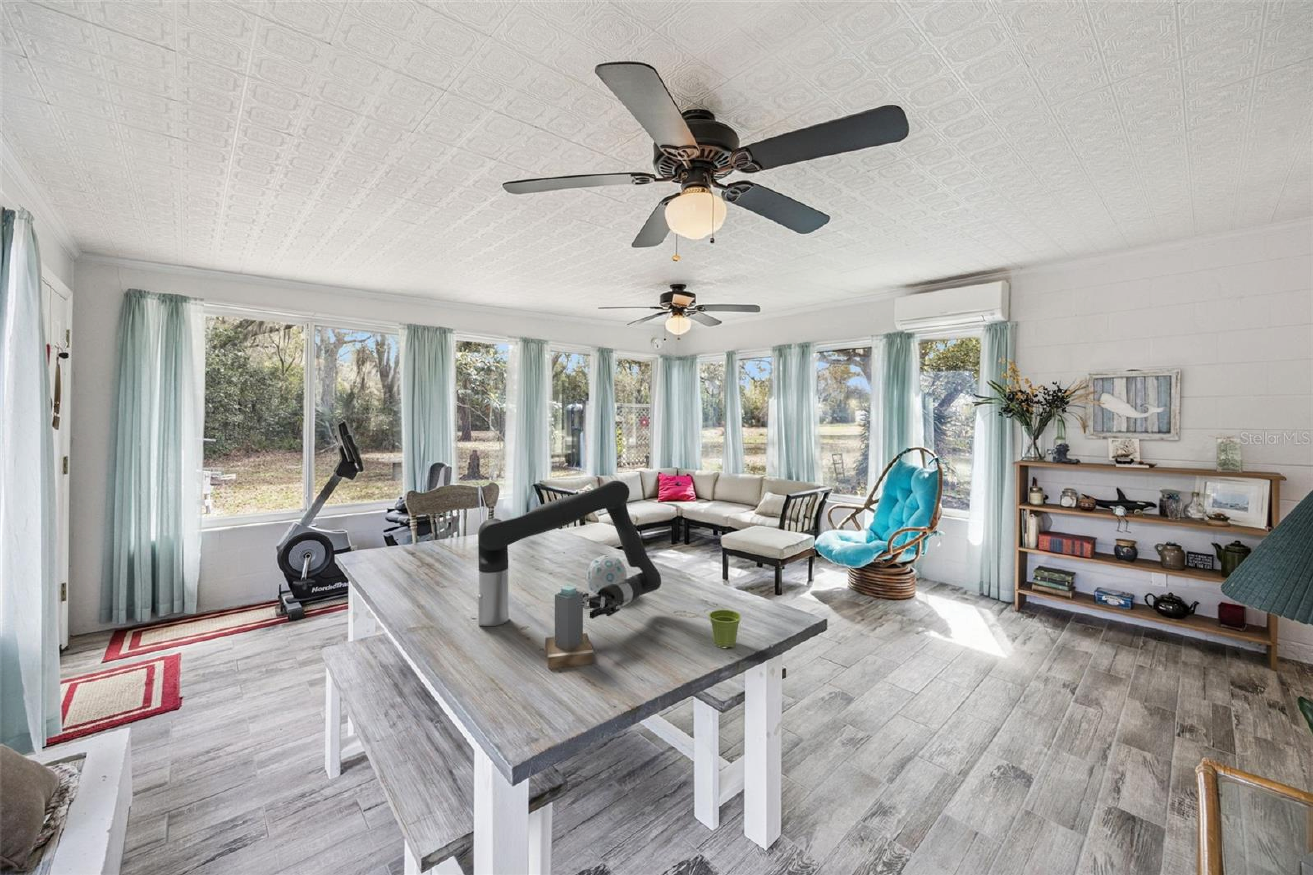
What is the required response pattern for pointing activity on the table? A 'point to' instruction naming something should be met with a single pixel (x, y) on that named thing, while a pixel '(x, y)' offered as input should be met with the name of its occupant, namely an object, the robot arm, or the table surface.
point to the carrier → (568, 620)
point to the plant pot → (724, 627)
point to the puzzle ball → (605, 572)
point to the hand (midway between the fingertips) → (579, 611)
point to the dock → (568, 654)
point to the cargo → (568, 591)
